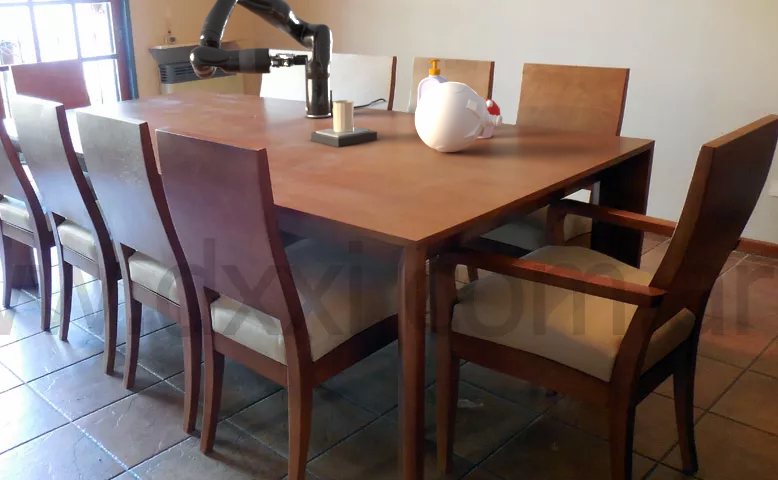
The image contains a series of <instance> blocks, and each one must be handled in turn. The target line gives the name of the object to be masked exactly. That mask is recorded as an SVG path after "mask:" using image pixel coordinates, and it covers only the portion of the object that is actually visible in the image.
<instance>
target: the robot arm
mask: <svg viewBox="0 0 778 480" xmlns="http://www.w3.org/2000/svg"><path fill="white" fill-rule="evenodd" d="M236 4H237V5H239V6H240V7H243V8H244V9H246V10H247V11H249V12H250V13H252V14H254V15H255V16H257V17H259V18H260V19H261V20H263V21H264V22H266V23H268V25H271V27H272V26H273V27H274V28H276V29H277V30H279V31H280V32H282V33H285V34H286V35H287V36H289V37H291V38H292V39H293V40H294V41H295V42H296V43H297V44H299V45H300V46H301V47H302V48H304V49H305V50H308V51H312V52H311V53H312V54H311V58H310V59H309V55H308V54H295V53H280V52H278V53H276V54H275V55H272V52H271V48H269V47H257V48H256V47H255V48H254V47H253V48H251V47H250V48H242V49H224V48H221V44H222V42H223V38H224V35H225V32H226V30H227V26H228V23H229V21H230V18H231V16H232V14H233V11H234V9H235V7H236ZM198 43H199V46H196V47H195V48H193V49H191V51H190V53H189V62H190V64H191V67H192V69H193V71H194V73H195V75H196V76H197V77H198V78H200V79H203V80H207V79H210V78H211V77H213V76H214V74H215V73H216V70H217V68H218V69H220V70H222V72H223V73H225V74H231V75H232V74H233V75H234V74H246V75H261V74H263V75H264V74H266V75H267V74H271V73H272V68H276V69H279V68H291V67H294V66H304V80H305V83H304V84H305V107H304V109H305V111H306V113H305V116H306V118H310V119H326V118H329V117H332V116H333V102H334V101H333V90H332V89H331V77H330V76H331V74H330V73H331V72H330V71H331V70H330V69H331V68H330V67H331V63H332V58H333V57H332V56H333V35H332V30H331V29H330V26H328V25H327V24H324V23H311V22H308V21H305V20H304V19H301V18H300V17H299V16H297V15H296V14H295V12H294V10H293V8H292V7H291V5H290V4H289V3H288V1H286V0H216V1H215V2H214V3H213V5H212V7H211V9H209V12H208V13H207V15H206V17H205V18H204V21H203V24H202V27H201V30H200V33H199V37H198ZM380 101H383V102H384V103H385V102H386V103H387V100H386V99H385V98H383V97H382V98H381V97H380V98H378V99H375V100H373V101H371V102H369V103H367V104H363V105H354V109H360V108H366V107H369V106H371V105H372V104H374V103H375V104H376V103H377V102H380Z"/></svg>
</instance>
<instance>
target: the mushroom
mask: <svg viewBox="0 0 778 480" xmlns="http://www.w3.org/2000/svg"><path fill="white" fill-rule="evenodd" d="M483 98H484V99H485V100H486V102H487V111H488V112H489V114H490V115H493V116H494V115H497V116H498V115H501V107H500V106H499V105H498V104H497V102H495V100H493V99H489V98H486V97H483ZM494 128H495V126H490V125H489V126H488V127H487V128H486V129H485V132H484V135H483V136H480V137H477V138H476V139H489V138H492V136H493V132H494Z"/></svg>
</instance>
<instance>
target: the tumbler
mask: <svg viewBox="0 0 778 480" xmlns="http://www.w3.org/2000/svg"><path fill="white" fill-rule="evenodd" d="M354 107H355V101H354V100H351V99H350V100H349V99H340V100H339V99H337V100H334V101H333V108H332V113H333V118H332V119H333V128H334V131H335V132H351V131H353V130H354V127H355V108H354Z"/></svg>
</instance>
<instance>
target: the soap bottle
mask: <svg viewBox="0 0 778 480" xmlns="http://www.w3.org/2000/svg"><path fill="white" fill-rule="evenodd" d="M439 62H440V63H441V60H440V59H438V58H431V59H430V60H428V64H432V67H430V68H429V69H428V73H429V75H428V76H427V77H425V78H423V79H421V80H420V82H419V83H418V85H417V97H416V98H417V102H416V103H417V104H416V107H417V106H418V103H419V101H420V100H421V98H422V97H423V95H424V94H425V93H426V92H427V91H428V90H429V89H431V88H432V87H435V86H437V85H438V84H441V83H445V82H450V81H449V79H448V78H446V76H444V75H441V68H440V67H438V63H439Z"/></svg>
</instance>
